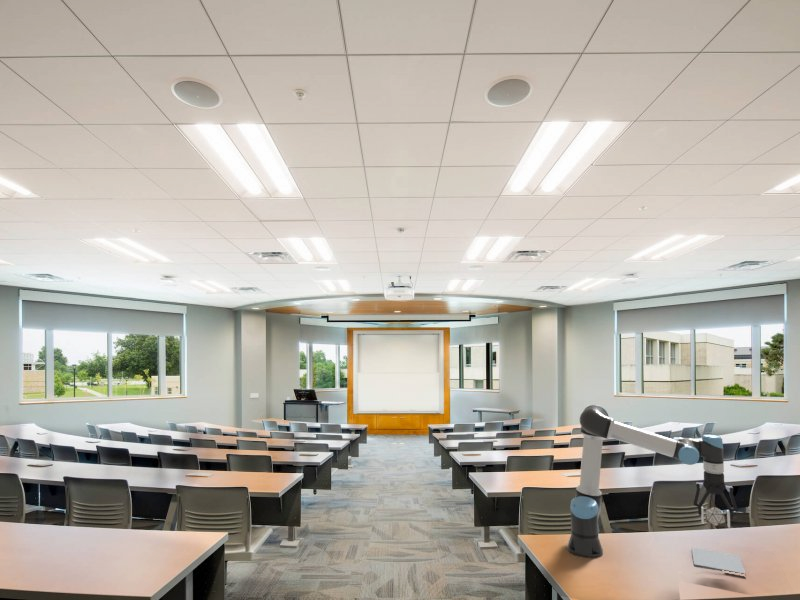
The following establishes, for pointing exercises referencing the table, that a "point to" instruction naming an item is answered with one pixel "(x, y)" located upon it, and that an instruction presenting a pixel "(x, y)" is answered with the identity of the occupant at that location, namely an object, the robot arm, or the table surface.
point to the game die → (715, 516)
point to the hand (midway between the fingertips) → (715, 524)
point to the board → (717, 560)
